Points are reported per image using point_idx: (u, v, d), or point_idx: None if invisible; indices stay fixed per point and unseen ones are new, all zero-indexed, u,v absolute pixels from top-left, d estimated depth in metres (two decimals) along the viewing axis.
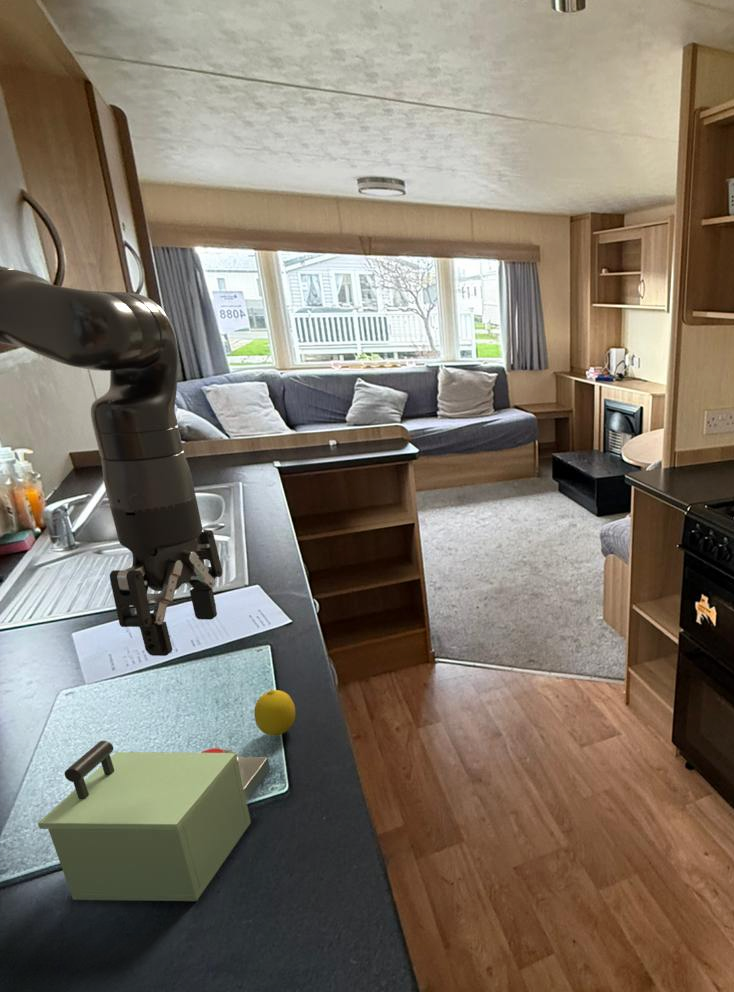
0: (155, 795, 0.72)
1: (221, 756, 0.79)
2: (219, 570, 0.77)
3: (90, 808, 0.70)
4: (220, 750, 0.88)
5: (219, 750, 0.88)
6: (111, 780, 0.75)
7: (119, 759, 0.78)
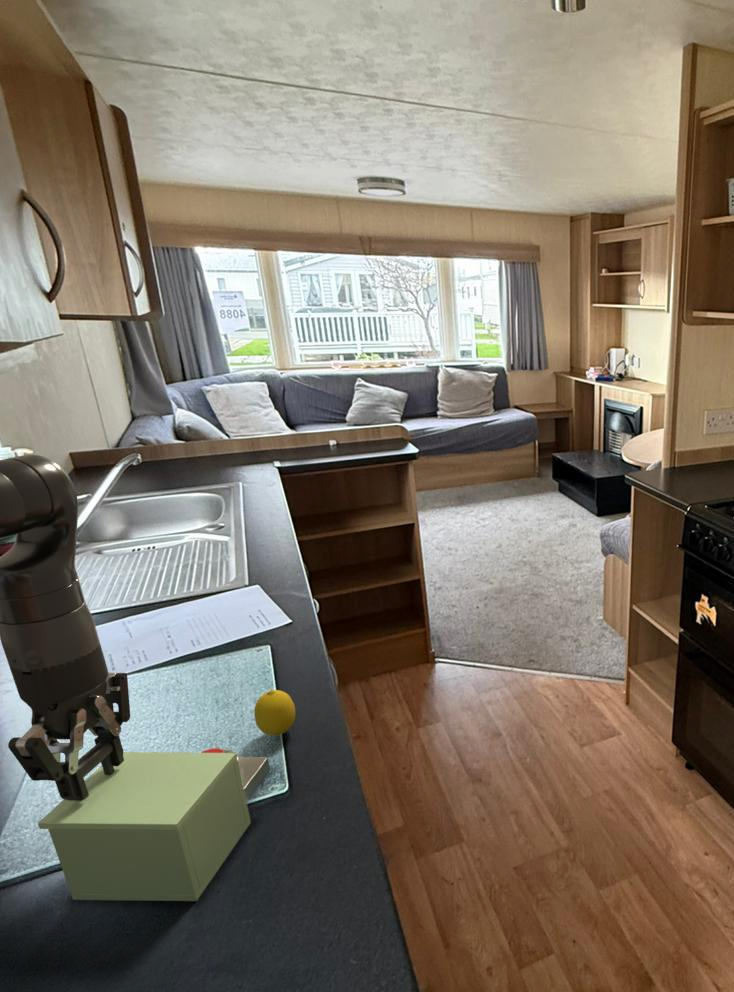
0: (155, 795, 0.72)
1: (221, 756, 0.79)
2: (126, 715, 0.77)
3: (90, 809, 0.70)
4: (220, 750, 0.88)
5: (219, 750, 0.88)
6: (111, 780, 0.75)
7: None
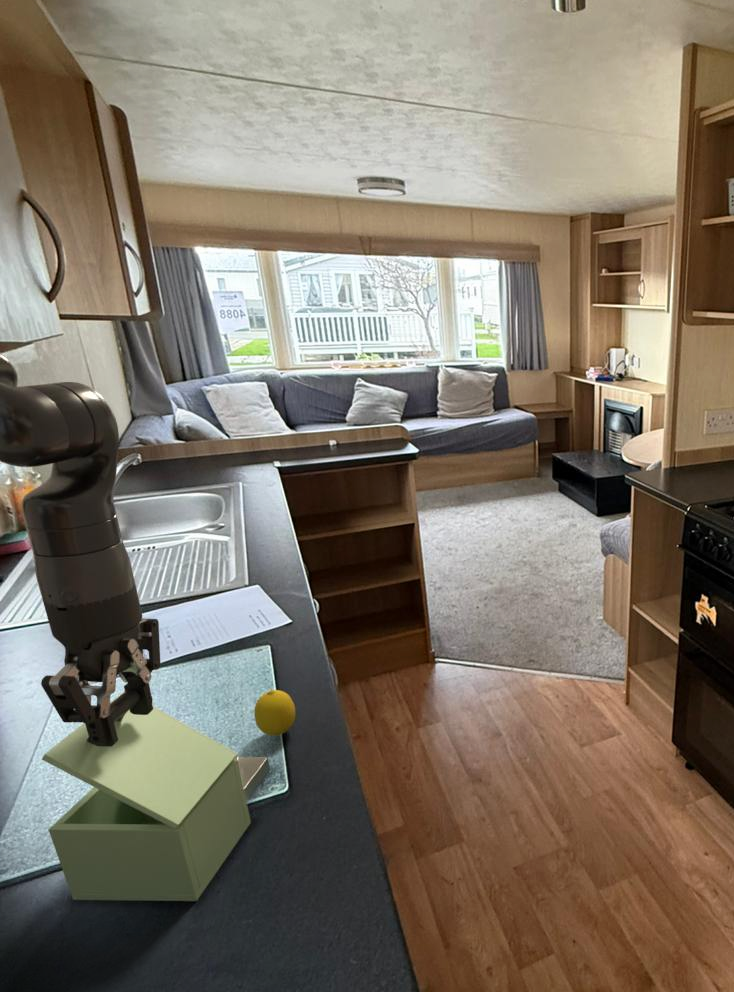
0: (160, 774, 0.71)
1: (224, 751, 0.79)
2: (157, 662, 0.74)
3: (98, 761, 0.68)
4: None
5: None
6: (119, 730, 0.72)
7: None
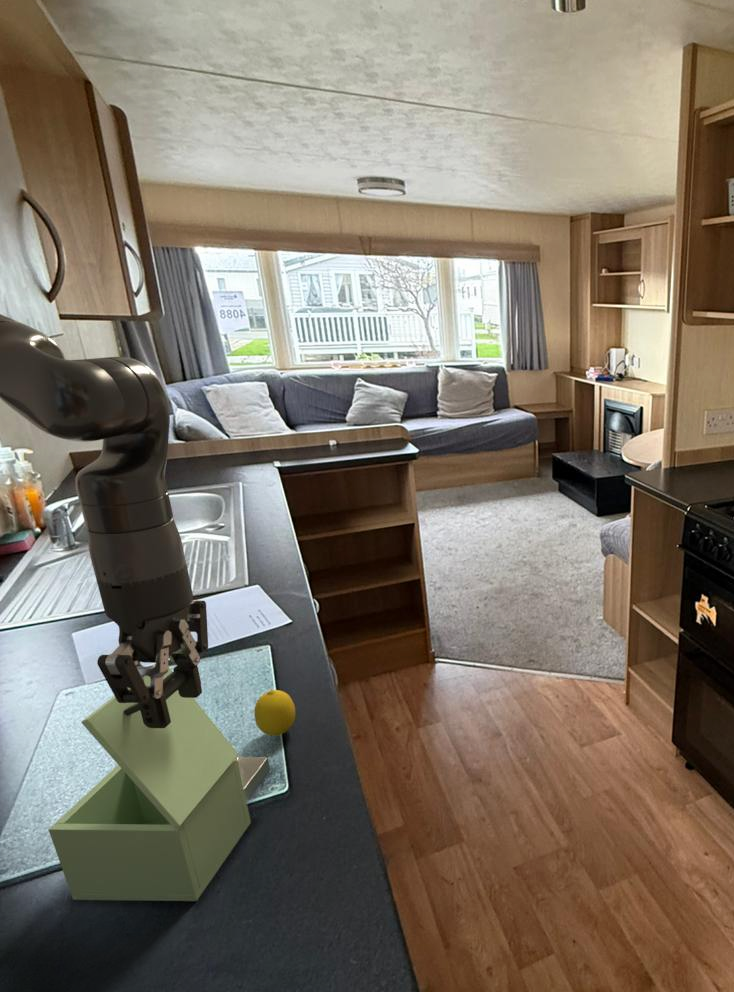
0: (175, 764, 0.71)
1: (229, 749, 0.78)
2: (205, 645, 0.73)
3: (128, 737, 0.67)
4: None
5: None
6: None
7: None
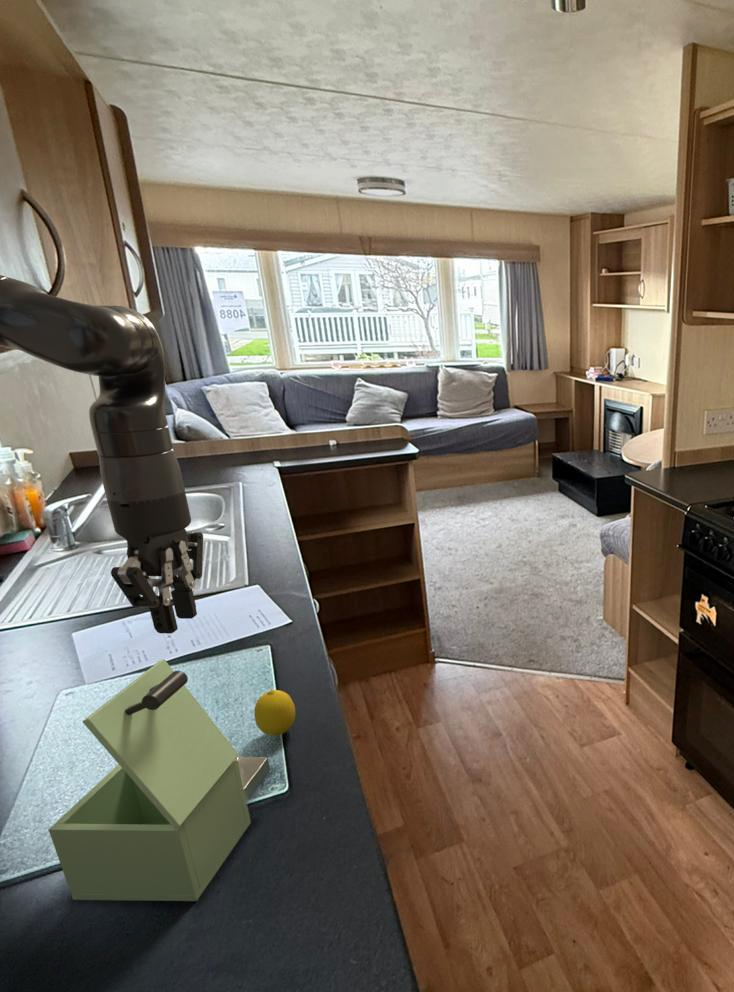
0: (175, 763, 0.71)
1: (229, 749, 0.78)
2: (199, 572, 0.83)
3: (129, 737, 0.67)
4: None
5: None
6: None
7: (163, 674, 0.74)
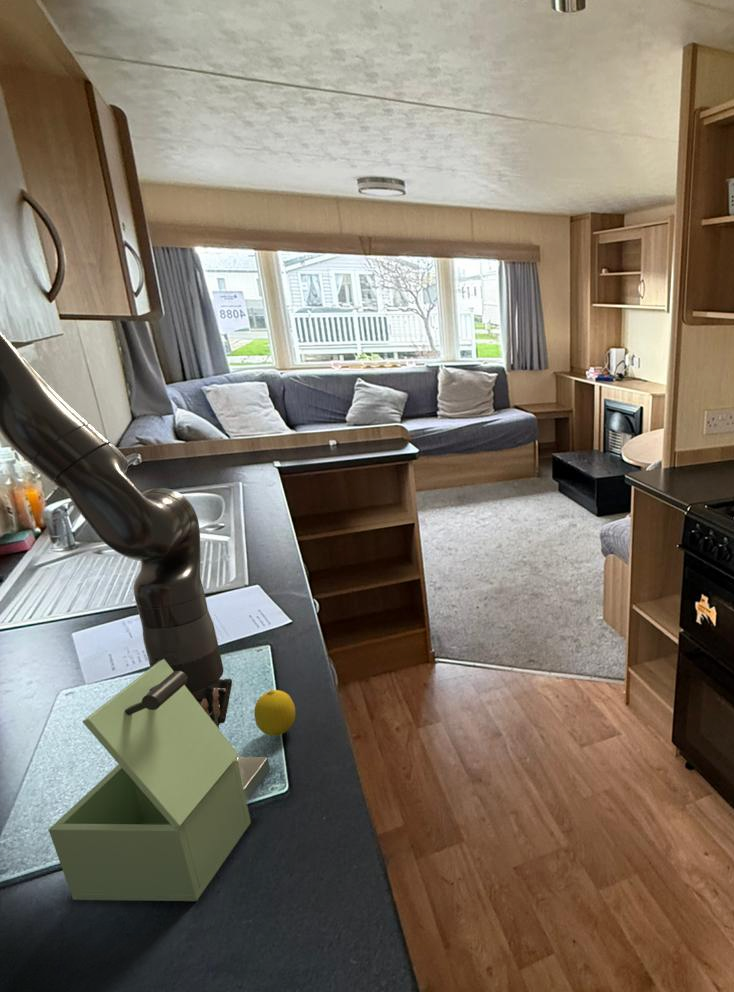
0: (175, 763, 0.71)
1: (229, 749, 0.78)
2: (223, 716, 0.88)
3: (129, 737, 0.67)
4: None
5: None
6: None
7: (163, 674, 0.74)
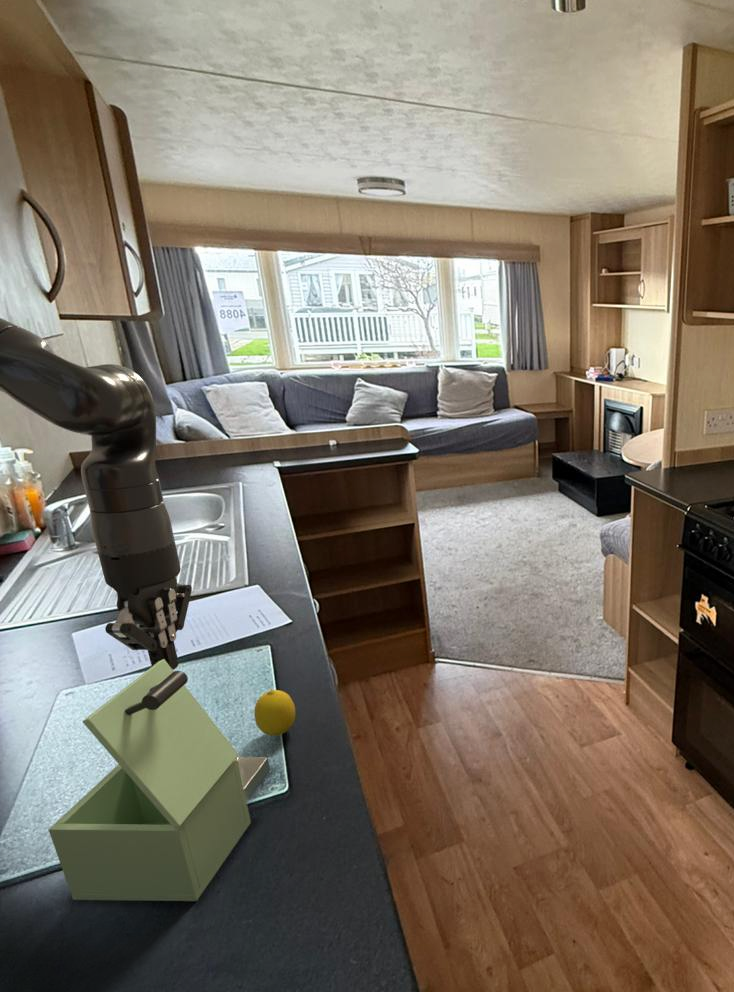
0: (175, 763, 0.71)
1: (229, 749, 0.78)
2: (181, 623, 0.83)
3: (129, 737, 0.67)
4: None
5: None
6: None
7: (163, 674, 0.74)
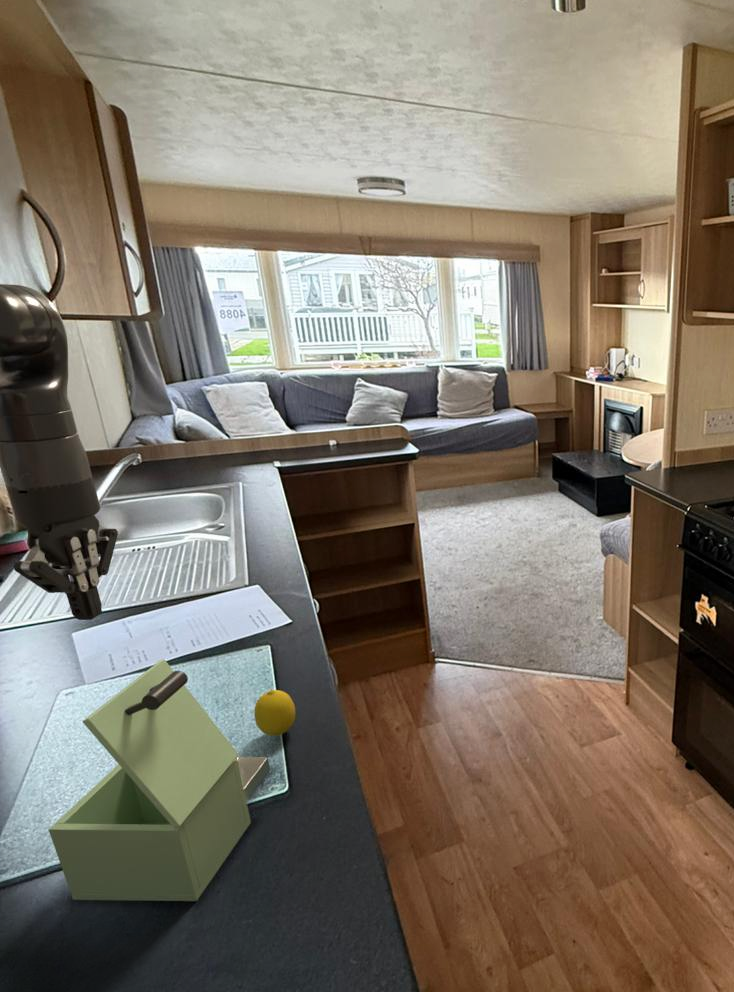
0: (175, 763, 0.71)
1: (229, 749, 0.78)
2: (105, 568, 0.79)
3: (129, 737, 0.67)
4: None
5: None
6: None
7: (163, 674, 0.74)
